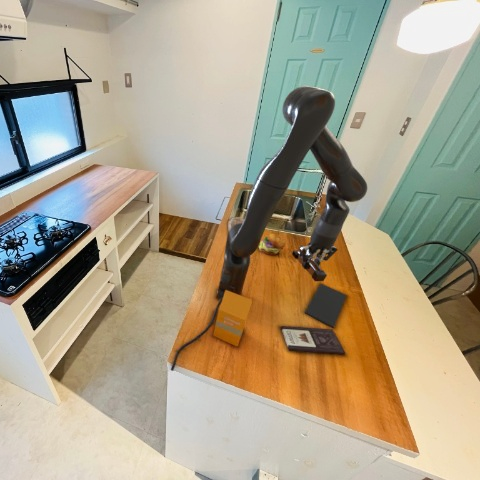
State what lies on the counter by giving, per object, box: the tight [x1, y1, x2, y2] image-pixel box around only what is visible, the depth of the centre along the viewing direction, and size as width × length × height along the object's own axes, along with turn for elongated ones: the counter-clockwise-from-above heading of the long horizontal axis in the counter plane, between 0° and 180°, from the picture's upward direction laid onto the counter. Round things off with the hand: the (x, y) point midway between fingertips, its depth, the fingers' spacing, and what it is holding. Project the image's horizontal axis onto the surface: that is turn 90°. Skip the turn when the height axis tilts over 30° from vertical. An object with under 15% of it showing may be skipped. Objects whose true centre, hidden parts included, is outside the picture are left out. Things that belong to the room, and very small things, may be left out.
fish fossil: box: [227, 216, 245, 232], centre depth 146 cm, size 26×10×1 cm, turn 168°
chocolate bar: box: [280, 325, 346, 355], centre depth 88 cm, size 9×1×18 cm
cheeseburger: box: [258, 233, 286, 256], centre depth 129 cm, size 10×11×10 cm
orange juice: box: [212, 290, 253, 347], centre depth 85 cm, size 8×9×20 cm
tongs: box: [291, 249, 328, 282], centre depth 99 cm, size 16×5×3 cm, turn 3°
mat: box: [304, 283, 347, 329], centre depth 102 cm, size 21×10×1 cm, turn 138°
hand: (309, 267), depth 99 cm, fingers closed on tongs, 3 cm apart
